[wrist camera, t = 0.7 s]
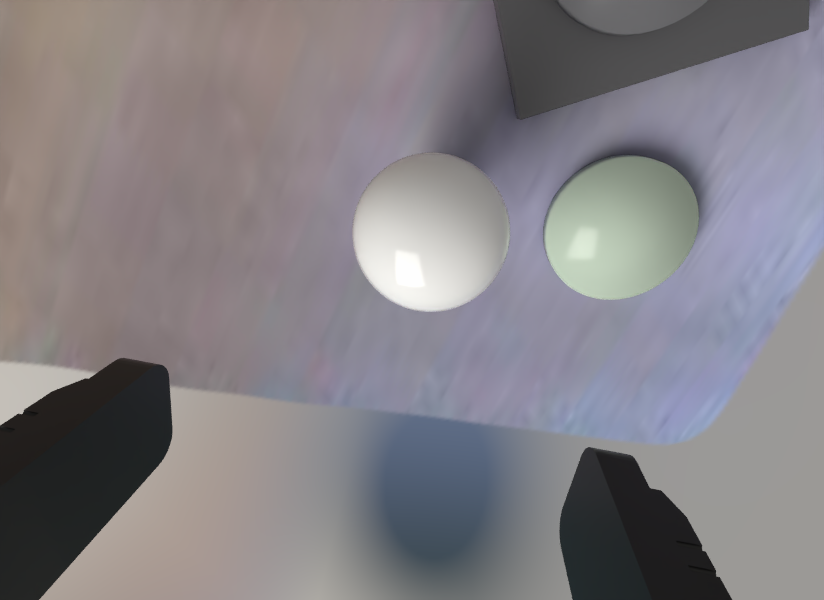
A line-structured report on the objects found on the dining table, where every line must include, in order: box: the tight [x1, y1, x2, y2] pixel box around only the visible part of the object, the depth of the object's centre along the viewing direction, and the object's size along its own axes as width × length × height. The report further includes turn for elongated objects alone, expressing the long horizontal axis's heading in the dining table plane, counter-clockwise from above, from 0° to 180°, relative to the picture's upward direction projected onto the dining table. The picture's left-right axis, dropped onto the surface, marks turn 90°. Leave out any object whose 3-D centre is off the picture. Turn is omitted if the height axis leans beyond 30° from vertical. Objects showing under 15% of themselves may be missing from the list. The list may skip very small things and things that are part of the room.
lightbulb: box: [352, 153, 510, 312], centre depth 21 cm, size 6×6×11 cm
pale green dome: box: [543, 155, 699, 300], centre depth 26 cm, size 8×8×1 cm
